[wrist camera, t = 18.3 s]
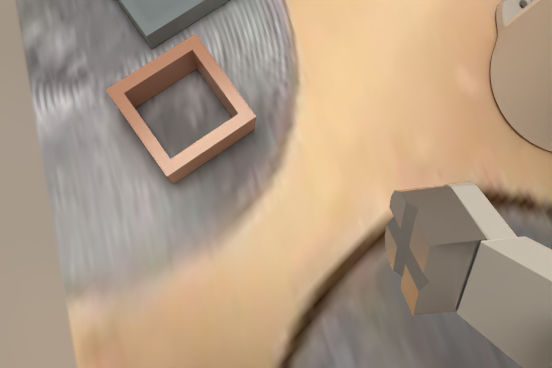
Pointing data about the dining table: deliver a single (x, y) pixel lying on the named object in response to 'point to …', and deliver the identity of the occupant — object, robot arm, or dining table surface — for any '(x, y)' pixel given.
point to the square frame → (164, 75)
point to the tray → (166, 16)
